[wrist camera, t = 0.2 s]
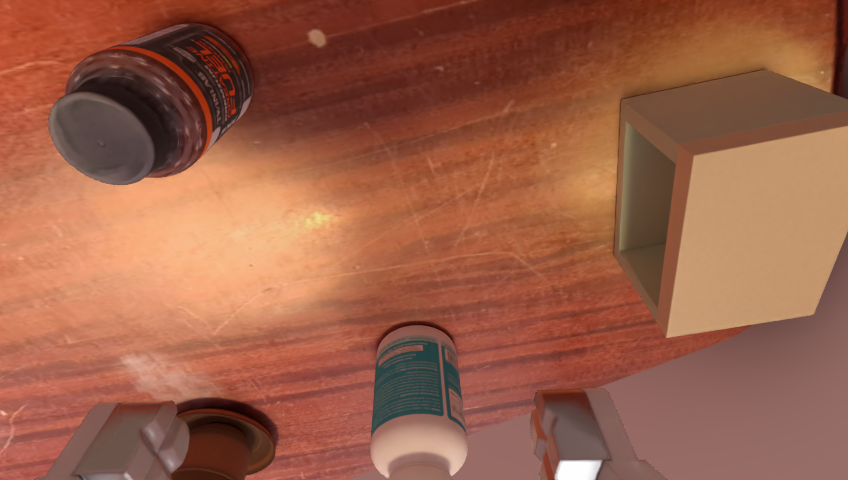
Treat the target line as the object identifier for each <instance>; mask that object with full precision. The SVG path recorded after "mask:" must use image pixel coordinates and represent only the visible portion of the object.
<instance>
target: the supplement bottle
mask: <svg viewBox="0 0 848 480" xmlns="http://www.w3.org/2000/svg"><path fill="white" fill-rule="evenodd" d="M253 93H254V78H253V73H252V70H251V66H250V64H249V62H248V60H247V58H246V56H245V54H244V53H243V51H242V50H241V49H240V48H239V47H238V45H237V44H236V43H235V42H234V41H233V40H231V39H230V38H229V37H228V36H226V35H225V34H223V33H222V32H220V31H219V30H216V29H214V28H213V27H211V26H207V25H204V24H198V23H184V24H178V25H174V26H171V27H168V28H165V29H162V30H159V31H156V32H154V33H151V34H148V35H145V36H142V37H139V38H137V39H134V40H131V41H128V42H125V43H122V44H119V45H116V46H113V47H110V48H108V49H106V50H103V51H100V52H97V53H95V54H92V55H90V56H88V57H87V58H85V59H84V60H83V61H81V62H80V63H79V64H78V65H77V66H76V67H75V68H74V70H73V71H72V72H71V74H70V76H69V78H68V81H67V84H66V89H65V96H63V97H61V98H60V99H59V100H58V101H57V102H55V103H54V105H53V107H52V108H51V110H50V114H49V118H48V122H49V132H50V135H51V138H52V140H53V142H54V144H55V146H56V148H57V150H58V151H59V153H60V154H61V155H62V156H63V157H64V159H65V160H66V161H67V162H68V163H69V164H70V165H72V166H73V167H75V168H76V169H77V170H78V171H80V172H81V173H83V174H84V175H86V176H88V177H90V178H93V179H95V180H97V181H100V182H103V183H107V184H113V185H128V184H132V183H136V182H138V181H140V180H142V179H143V178H145V177H149V178H161V177H167V176H172V175H176V174H178V173H181V172H182V171H184V170H186V169H188V168H189V167H190V166H192V165H193V164H194V163H195V162H196V161H197V160H198V159H199V158H201V157H202V156H203V155H204V154H205V152H206V151H208V150H209V148H210V147H212V145H214V143H215V142H217V140H218V139H219V138H220V137H221V136H222V135H223V134H224V133H225V132H226V131H227V130H228V129H229V128H230V127H231V126H232V125H233V124H234V123H235V122H236V121H237V120H238V119H239V118H240V117H241V116H242V115H243V114H244V112H245V111H246V110H247V108H248V107H249V105H250V103H251V101H252V98H253Z"/></svg>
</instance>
